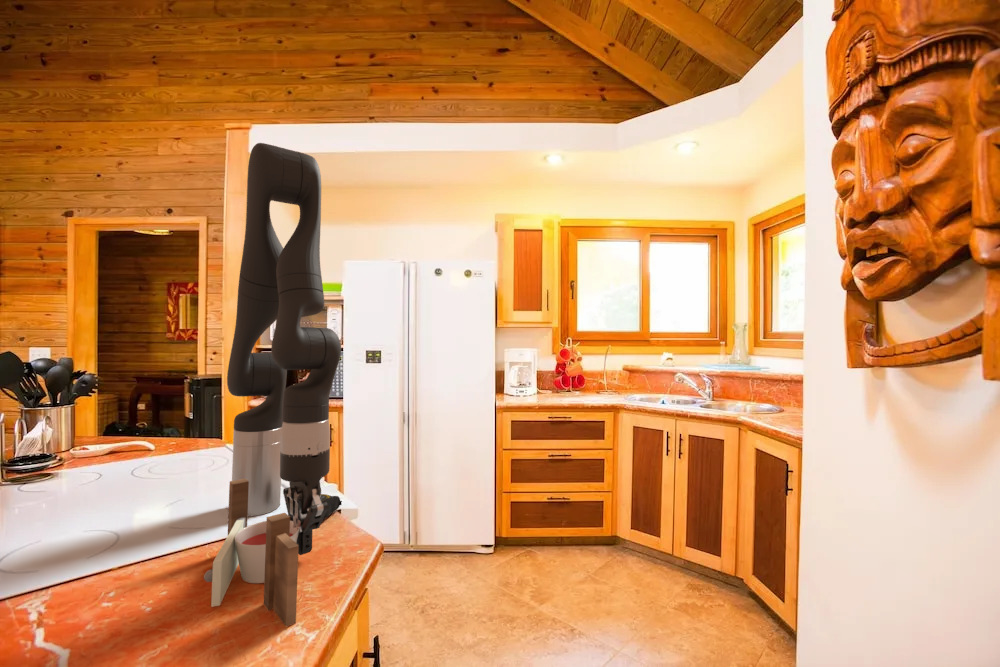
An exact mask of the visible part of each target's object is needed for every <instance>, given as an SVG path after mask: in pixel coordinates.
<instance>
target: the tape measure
mask: <svg viewBox="0 0 1000 667" xmlns="http://www.w3.org/2000/svg"><path fill="white" fill-rule="evenodd" d="M320 500H321V503H325V502H327V504H328V510H327V512H326V514H325V516H324V519H323V520H326V519H327V518H328V517H329V516H330V515H332V514H333V513H334V512H336V511H337V510H338V509H339V508H340V506H342V502H343V501H342V500H341V498H340V497H339V496H338V495H330V494H325V493H324V494H323V493H321V497H320Z"/></svg>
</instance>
